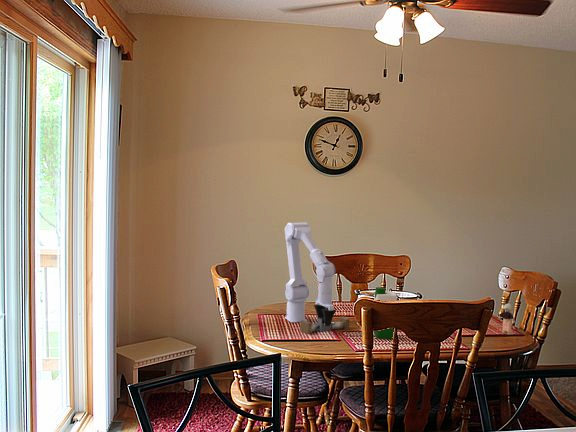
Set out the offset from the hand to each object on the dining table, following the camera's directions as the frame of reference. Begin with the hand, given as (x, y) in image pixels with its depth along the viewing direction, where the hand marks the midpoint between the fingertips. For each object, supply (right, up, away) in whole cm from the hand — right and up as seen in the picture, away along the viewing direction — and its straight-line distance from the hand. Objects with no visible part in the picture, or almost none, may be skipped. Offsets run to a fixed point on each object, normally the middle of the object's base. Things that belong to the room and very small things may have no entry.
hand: (324, 323), depth 246 cm
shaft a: (+6, -3, +2) cm, 7 cm away
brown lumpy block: (-6, -3, -3) cm, 7 cm away
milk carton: (+24, -4, -8) cm, 26 cm away
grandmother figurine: (+78, -5, +1) cm, 78 cm away
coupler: (0, -3, 0) cm, 3 cm away
